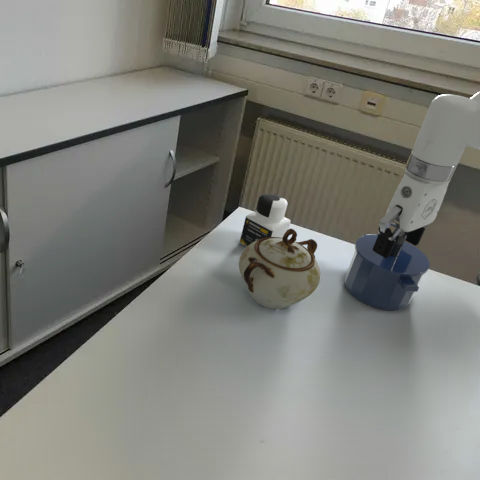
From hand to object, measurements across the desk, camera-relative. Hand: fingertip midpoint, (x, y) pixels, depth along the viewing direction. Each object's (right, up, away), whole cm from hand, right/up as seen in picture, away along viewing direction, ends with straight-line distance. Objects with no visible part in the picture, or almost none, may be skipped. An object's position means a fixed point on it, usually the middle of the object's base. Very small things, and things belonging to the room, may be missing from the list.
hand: (395, 247), depth 104 cm
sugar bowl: (-24, -10, +1) cm, 26 cm away
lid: (0, -2, +1) cm, 2 cm away
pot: (-1, -9, +6) cm, 10 cm away
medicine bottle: (-22, 0, +17) cm, 27 cm away
